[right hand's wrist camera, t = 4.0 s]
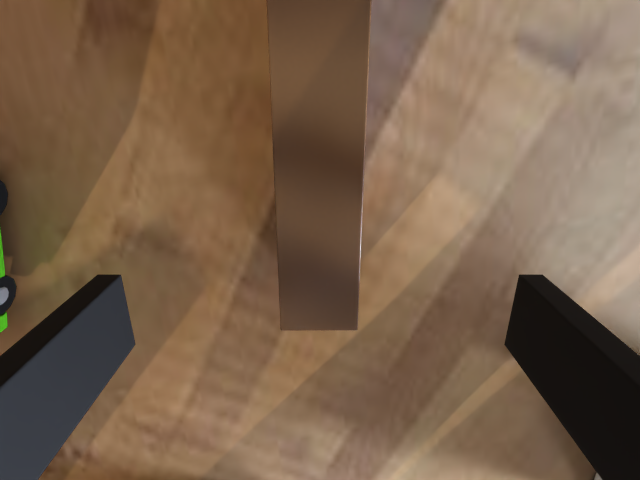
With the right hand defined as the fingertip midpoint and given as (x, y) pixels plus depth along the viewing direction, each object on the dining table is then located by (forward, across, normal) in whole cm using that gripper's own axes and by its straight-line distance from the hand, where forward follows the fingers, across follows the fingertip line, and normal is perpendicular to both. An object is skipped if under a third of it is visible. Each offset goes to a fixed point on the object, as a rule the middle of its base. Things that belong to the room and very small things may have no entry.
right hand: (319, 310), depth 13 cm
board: (+16, 0, -26) cm, 30 cm away
